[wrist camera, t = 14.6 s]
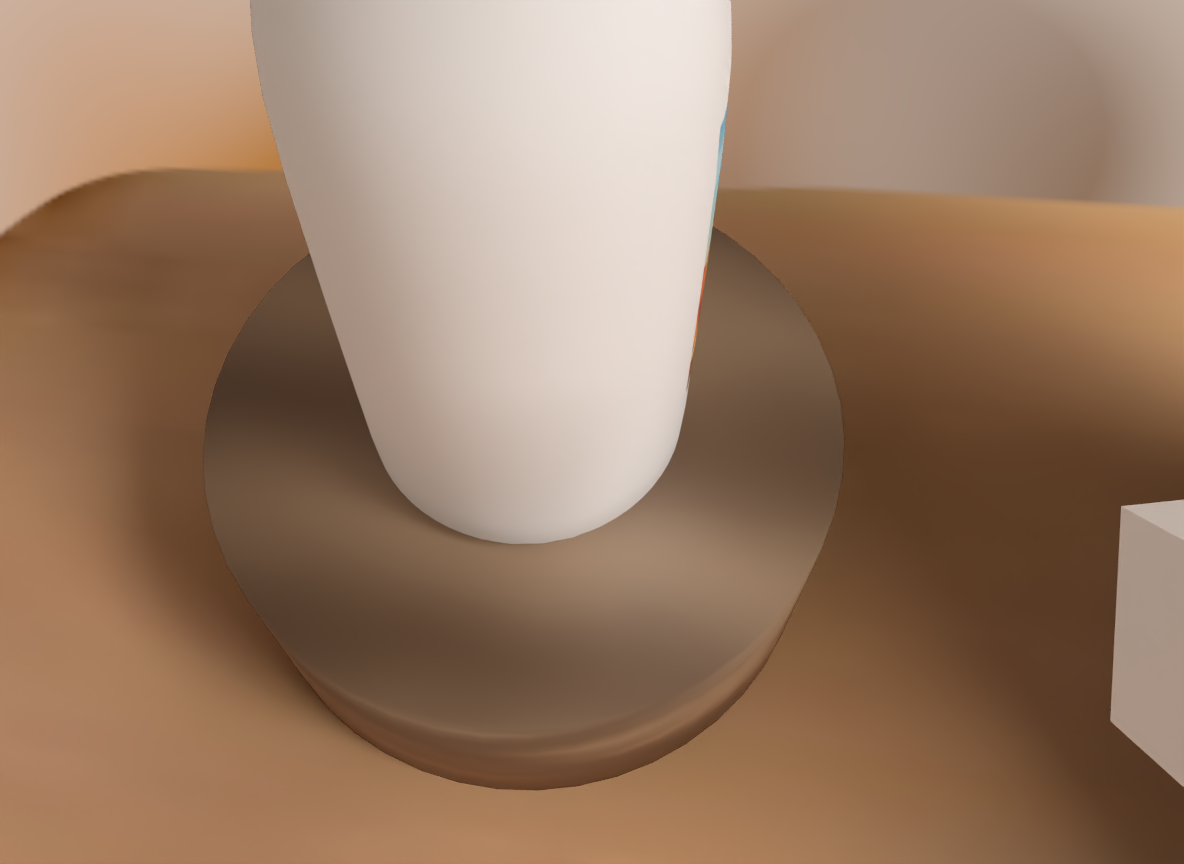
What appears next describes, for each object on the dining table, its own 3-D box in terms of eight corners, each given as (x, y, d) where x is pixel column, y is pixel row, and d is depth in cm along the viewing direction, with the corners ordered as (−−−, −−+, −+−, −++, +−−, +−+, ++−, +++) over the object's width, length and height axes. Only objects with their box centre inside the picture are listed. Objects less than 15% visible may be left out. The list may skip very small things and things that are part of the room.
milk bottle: (677, 566, 25) (889, -571, 7) (348, 544, 25) (-177, -608, 8) (685, 302, 29) (839, -842, 11) (402, 285, 29) (132, -861, 12)
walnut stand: (369, 266, 37) (334, 136, 32) (830, 353, 35) (872, 231, 30) (175, 714, 29) (87, 639, 24) (759, 854, 27) (801, 806, 22)
